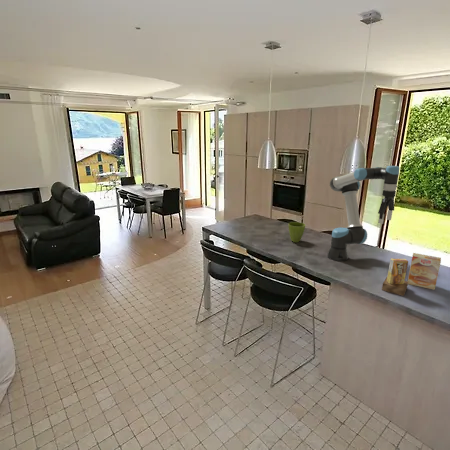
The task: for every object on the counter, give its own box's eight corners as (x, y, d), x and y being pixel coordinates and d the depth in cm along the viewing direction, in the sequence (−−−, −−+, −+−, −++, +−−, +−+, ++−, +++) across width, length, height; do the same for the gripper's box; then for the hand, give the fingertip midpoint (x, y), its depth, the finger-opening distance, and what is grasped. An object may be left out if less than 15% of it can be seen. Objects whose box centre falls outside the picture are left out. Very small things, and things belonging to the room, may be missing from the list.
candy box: (400, 281, 190) (404, 258, 185) (404, 284, 186) (408, 261, 181) (386, 280, 190) (390, 258, 185) (389, 284, 186) (393, 260, 181)
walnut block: (381, 290, 188) (382, 283, 187) (385, 283, 197) (387, 276, 196) (403, 296, 181) (405, 289, 180) (406, 289, 190) (408, 281, 189)
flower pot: (302, 238, 282) (304, 222, 278) (305, 244, 268) (306, 226, 263) (286, 238, 284) (287, 221, 279) (288, 243, 269) (289, 226, 265)
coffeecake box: (407, 284, 196) (412, 255, 190) (407, 279, 201) (412, 252, 196) (434, 290, 188) (441, 261, 182) (434, 285, 193) (441, 257, 188)
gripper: (388, 193, 186) (383, 226, 192) (402, 188, 202) (397, 219, 208) (375, 191, 191) (371, 223, 197) (390, 187, 207) (386, 217, 213)
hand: (384, 221), depth 203 cm, fingers open, 13 cm apart
